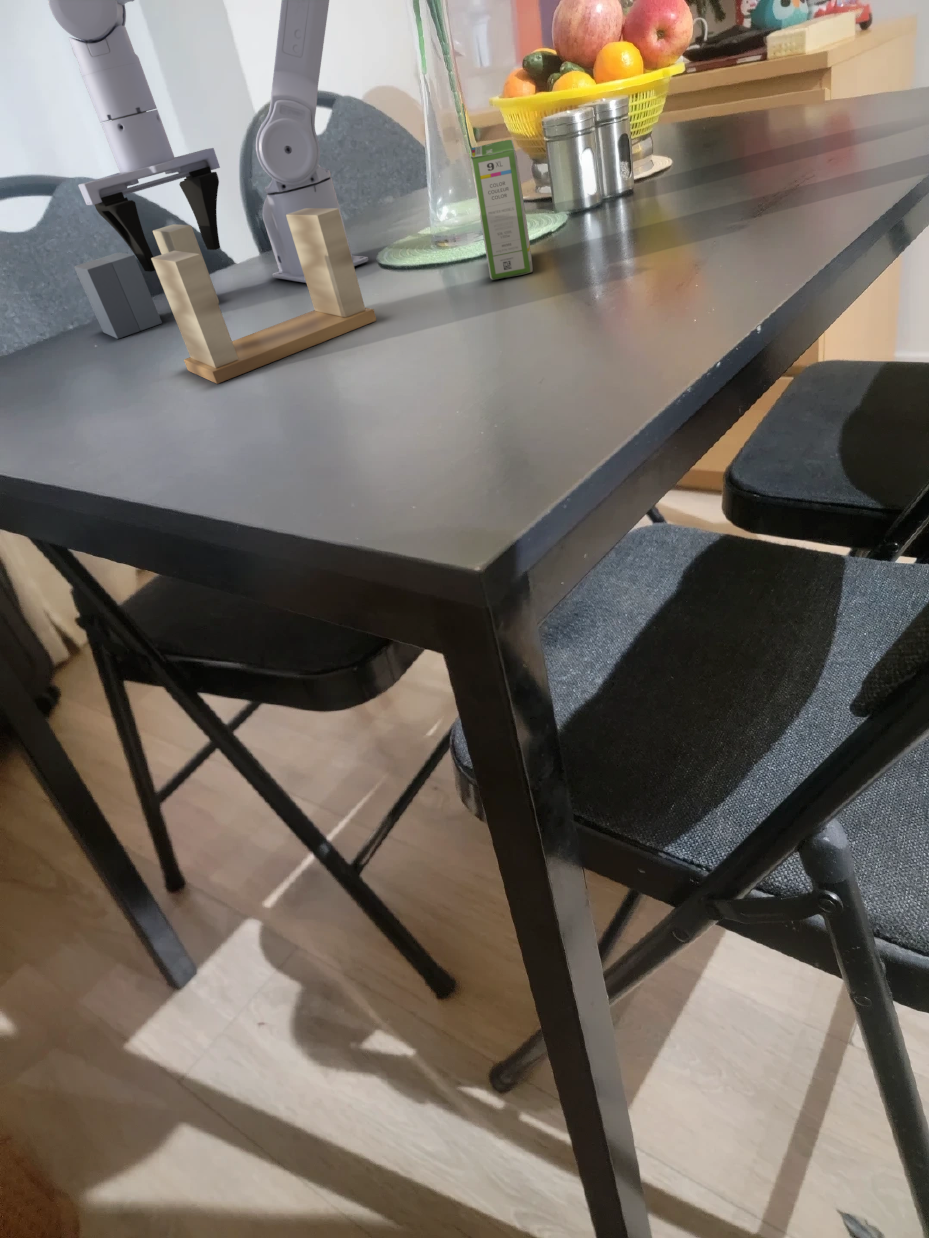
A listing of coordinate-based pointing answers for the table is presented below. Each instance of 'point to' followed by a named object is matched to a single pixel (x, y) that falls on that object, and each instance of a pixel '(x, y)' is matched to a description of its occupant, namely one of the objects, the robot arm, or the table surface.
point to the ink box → (501, 207)
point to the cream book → (179, 242)
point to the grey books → (118, 294)
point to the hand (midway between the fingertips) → (183, 259)
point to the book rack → (333, 316)
